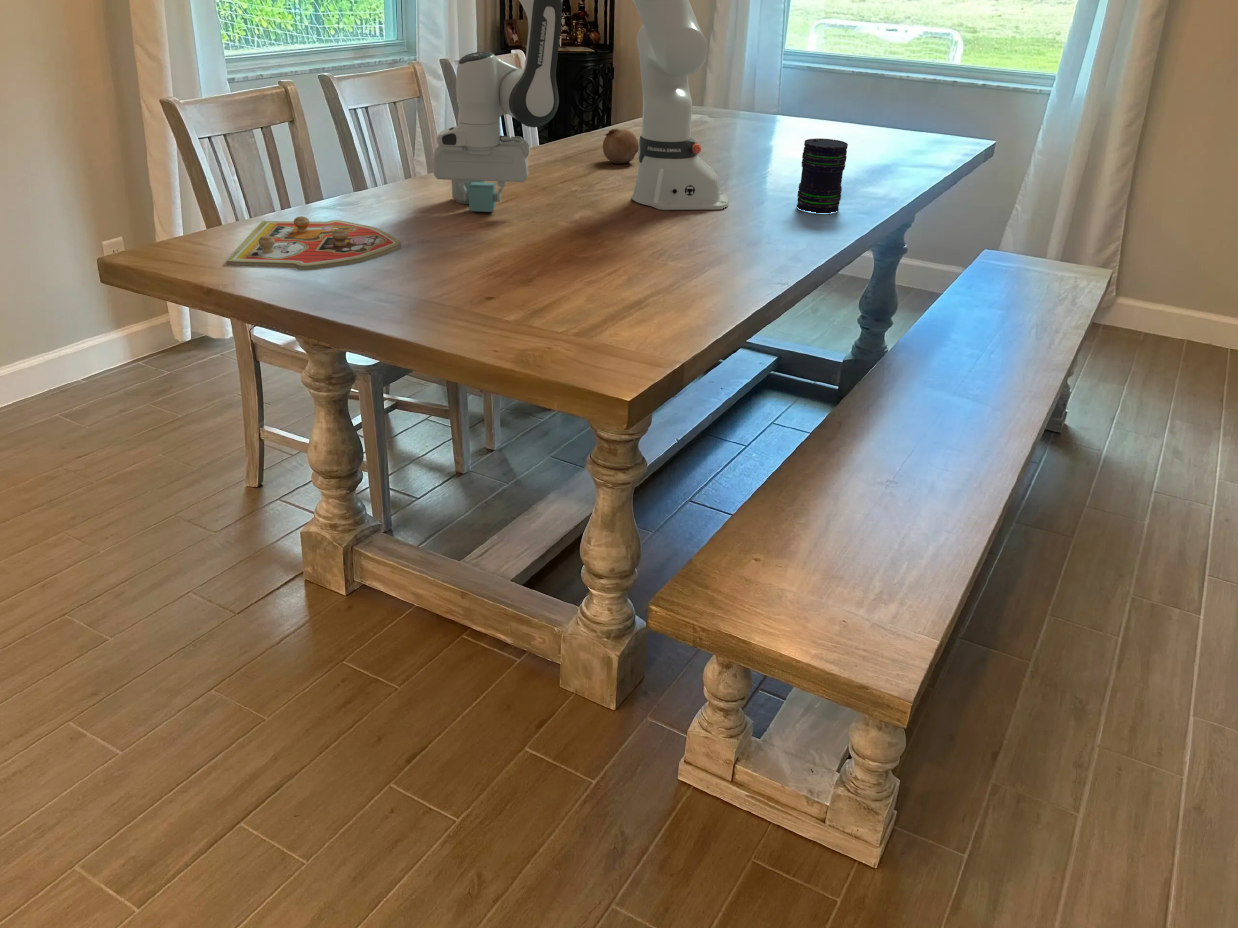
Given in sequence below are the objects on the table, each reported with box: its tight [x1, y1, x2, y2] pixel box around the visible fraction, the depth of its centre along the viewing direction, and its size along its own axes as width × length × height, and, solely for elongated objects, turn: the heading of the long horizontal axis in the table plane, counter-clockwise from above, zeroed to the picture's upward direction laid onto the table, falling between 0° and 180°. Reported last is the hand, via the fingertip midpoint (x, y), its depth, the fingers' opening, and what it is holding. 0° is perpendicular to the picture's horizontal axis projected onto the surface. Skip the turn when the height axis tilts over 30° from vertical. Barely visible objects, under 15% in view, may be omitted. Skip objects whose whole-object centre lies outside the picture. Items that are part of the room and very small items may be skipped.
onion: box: [602, 128, 639, 165], centre depth 264 cm, size 10×9×10 cm
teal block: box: [468, 182, 496, 213], centre depth 217 cm, size 5×5×5 cm
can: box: [451, 180, 486, 205], centre depth 223 cm, size 8×8×12 cm
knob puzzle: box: [226, 216, 401, 271], centre depth 192 cm, size 29×30×4 cm
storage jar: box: [796, 137, 849, 213], centre depth 227 cm, size 10×10×15 cm
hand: (482, 200), depth 217 cm, fingers closed on teal block, 5 cm apart
